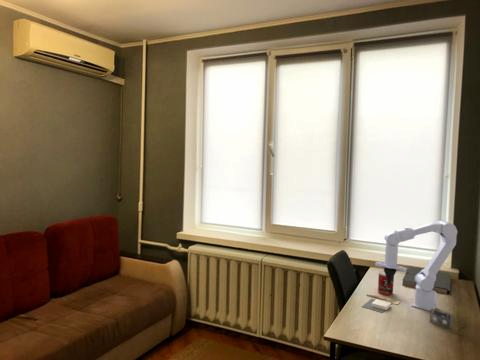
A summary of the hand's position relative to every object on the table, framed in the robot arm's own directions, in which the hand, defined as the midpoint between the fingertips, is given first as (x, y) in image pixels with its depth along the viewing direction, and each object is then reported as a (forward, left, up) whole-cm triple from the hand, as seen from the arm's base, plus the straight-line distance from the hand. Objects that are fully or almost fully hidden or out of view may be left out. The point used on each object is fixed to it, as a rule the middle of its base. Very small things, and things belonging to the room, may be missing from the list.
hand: (389, 283), depth 186 cm
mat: (+3, +7, -10) cm, 13 cm away
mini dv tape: (-25, +9, -11) cm, 29 cm away
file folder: (-7, -51, -11) cm, 53 cm away
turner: (+3, -4, -10) cm, 11 cm away
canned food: (+6, -14, -11) cm, 19 cm away
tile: (-2, +7, -9) cm, 12 cm away
